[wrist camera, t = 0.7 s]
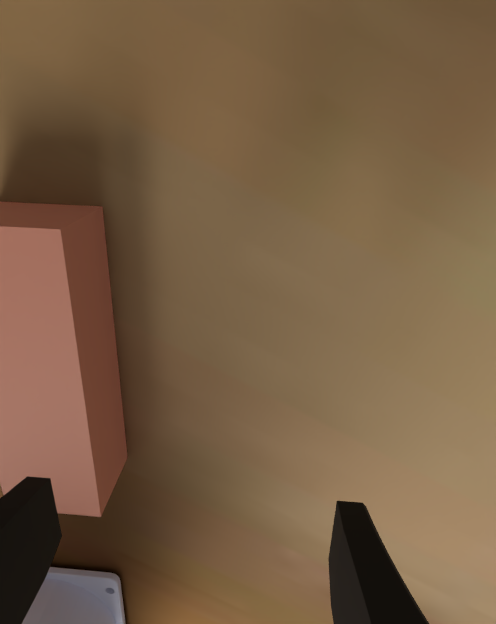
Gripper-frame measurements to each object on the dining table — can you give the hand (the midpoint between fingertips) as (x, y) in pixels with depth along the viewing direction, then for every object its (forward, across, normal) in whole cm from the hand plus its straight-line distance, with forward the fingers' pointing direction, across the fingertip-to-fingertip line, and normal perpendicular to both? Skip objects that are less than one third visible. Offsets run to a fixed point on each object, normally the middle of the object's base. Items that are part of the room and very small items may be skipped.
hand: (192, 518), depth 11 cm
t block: (+8, +11, 0) cm, 14 cm away
